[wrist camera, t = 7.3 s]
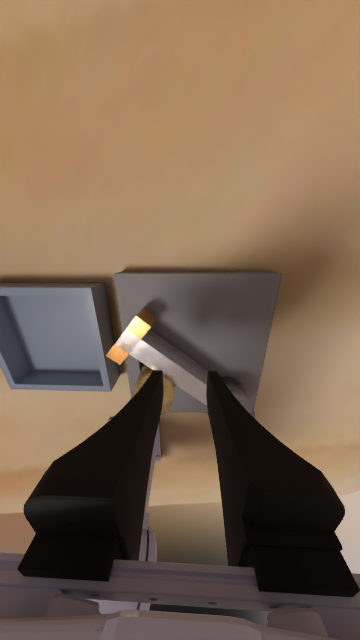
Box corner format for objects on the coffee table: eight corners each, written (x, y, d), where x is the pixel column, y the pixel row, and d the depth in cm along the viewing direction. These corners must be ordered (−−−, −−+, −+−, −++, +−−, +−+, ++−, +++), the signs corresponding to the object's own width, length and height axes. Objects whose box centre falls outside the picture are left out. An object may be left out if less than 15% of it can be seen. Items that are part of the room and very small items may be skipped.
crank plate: (247, 401, 24) (252, 413, 22) (137, 398, 25) (133, 410, 23) (271, 271, 18) (282, 273, 16) (121, 271, 18) (113, 273, 16)
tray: (119, 375, 23) (110, 391, 20) (31, 373, 24) (11, 389, 21) (105, 282, 19) (90, 287, 16) (-4, 282, 19) (-37, 287, 16)
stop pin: (176, 372, 23) (173, 415, 17) (147, 372, 23) (133, 414, 17) (176, 347, 21) (172, 383, 15) (145, 346, 21) (129, 382, 15)
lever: (253, 387, 20) (266, 413, 17) (223, 411, 22) (230, 439, 19) (144, 305, 17) (134, 317, 14) (117, 340, 19) (103, 358, 15)
